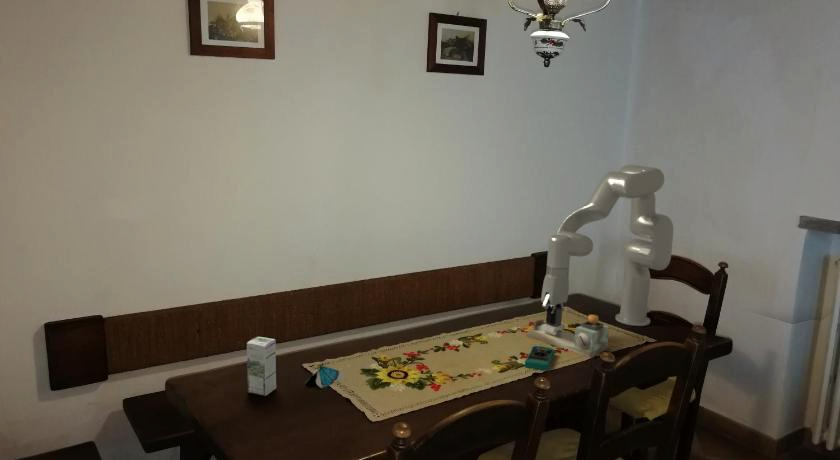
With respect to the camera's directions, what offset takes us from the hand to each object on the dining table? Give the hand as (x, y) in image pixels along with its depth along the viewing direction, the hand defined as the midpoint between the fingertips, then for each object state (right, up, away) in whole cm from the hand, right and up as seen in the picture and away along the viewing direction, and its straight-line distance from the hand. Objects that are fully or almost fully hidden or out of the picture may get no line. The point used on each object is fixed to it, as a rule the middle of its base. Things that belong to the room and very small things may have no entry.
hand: (553, 321), depth 227 cm
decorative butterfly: (-74, -12, -41) cm, 86 cm away
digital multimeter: (-9, -10, -20) cm, 24 cm away
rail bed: (+4, -7, -3) cm, 8 cm away
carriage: (0, -4, +1) cm, 4 cm away
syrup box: (-89, -12, -49) cm, 103 cm away
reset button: (+11, +2, -11) cm, 16 cm away
